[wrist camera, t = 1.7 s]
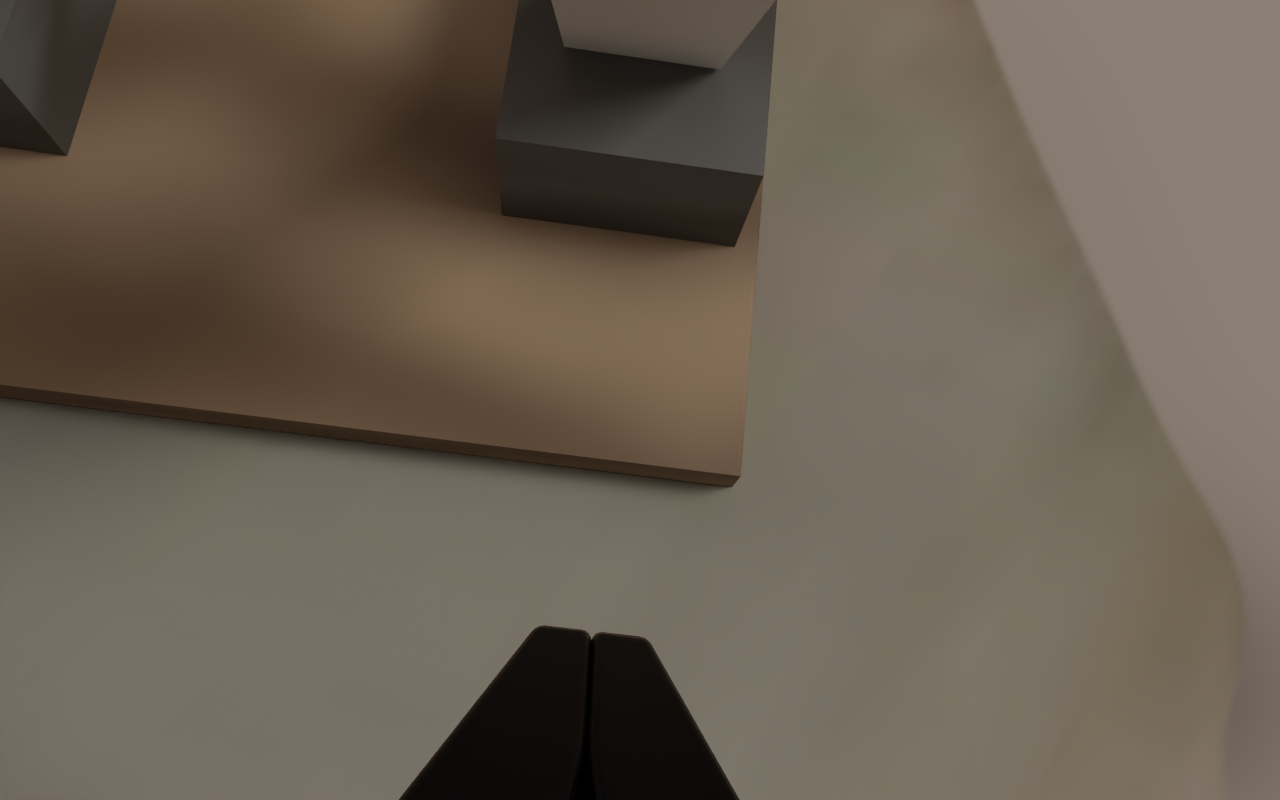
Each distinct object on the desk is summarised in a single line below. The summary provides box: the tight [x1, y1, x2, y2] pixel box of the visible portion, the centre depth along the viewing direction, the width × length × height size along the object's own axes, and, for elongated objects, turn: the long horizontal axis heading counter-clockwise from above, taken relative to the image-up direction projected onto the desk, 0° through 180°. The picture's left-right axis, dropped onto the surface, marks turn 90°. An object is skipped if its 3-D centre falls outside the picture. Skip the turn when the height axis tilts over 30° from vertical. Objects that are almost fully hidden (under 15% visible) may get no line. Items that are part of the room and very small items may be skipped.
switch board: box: [0, 0, 777, 487], centre depth 21 cm, size 14×20×4 cm
